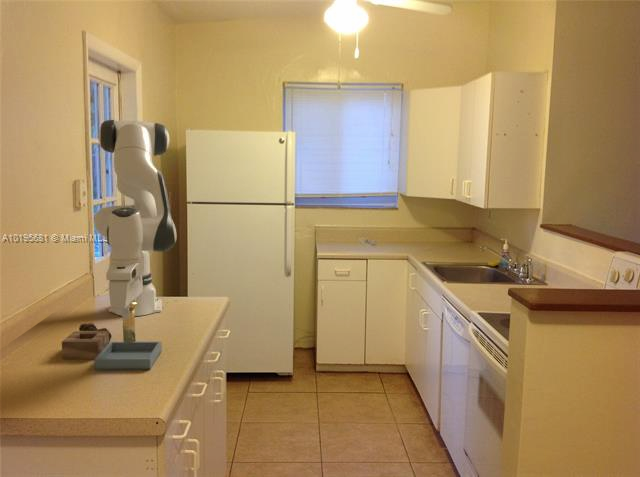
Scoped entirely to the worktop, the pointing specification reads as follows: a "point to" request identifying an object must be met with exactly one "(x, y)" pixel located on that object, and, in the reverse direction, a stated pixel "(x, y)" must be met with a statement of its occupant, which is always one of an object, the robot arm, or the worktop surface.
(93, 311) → the worktop surface
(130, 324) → the pin
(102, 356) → the tray
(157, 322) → the worktop surface
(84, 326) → the bolt
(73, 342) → the holder
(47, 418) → the worktop surface
